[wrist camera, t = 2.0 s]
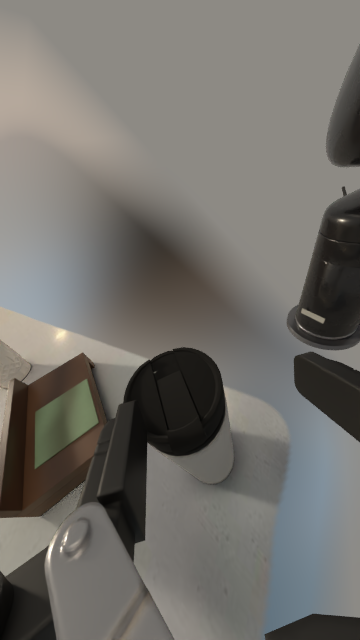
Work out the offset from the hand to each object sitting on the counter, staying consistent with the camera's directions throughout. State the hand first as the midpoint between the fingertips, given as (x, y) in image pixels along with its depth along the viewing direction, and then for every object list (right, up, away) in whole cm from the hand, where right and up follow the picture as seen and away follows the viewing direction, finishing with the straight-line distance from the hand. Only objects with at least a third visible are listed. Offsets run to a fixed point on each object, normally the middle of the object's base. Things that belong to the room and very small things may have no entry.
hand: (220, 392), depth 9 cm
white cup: (-41, -10, +35) cm, 55 cm away
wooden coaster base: (-21, -14, +23) cm, 34 cm away
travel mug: (+2, -14, +15) cm, 21 cm away
